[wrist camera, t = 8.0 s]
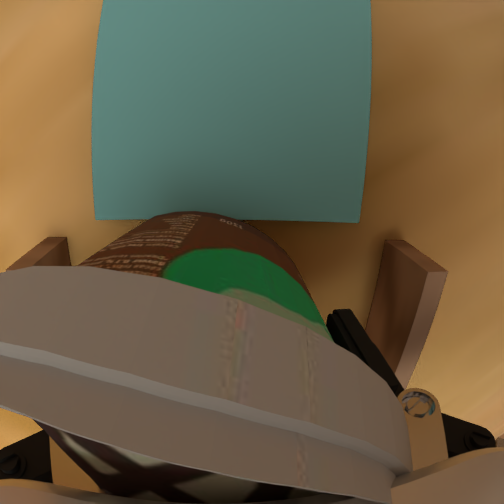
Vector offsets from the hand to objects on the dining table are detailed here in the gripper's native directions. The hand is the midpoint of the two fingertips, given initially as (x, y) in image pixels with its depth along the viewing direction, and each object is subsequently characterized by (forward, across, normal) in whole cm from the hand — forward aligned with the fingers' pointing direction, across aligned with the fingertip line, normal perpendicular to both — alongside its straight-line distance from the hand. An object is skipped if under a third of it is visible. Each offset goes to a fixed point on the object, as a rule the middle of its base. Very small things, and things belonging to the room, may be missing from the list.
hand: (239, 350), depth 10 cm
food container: (+3, -1, 0) cm, 3 cm away
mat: (+5, 0, -11) cm, 12 cm away
